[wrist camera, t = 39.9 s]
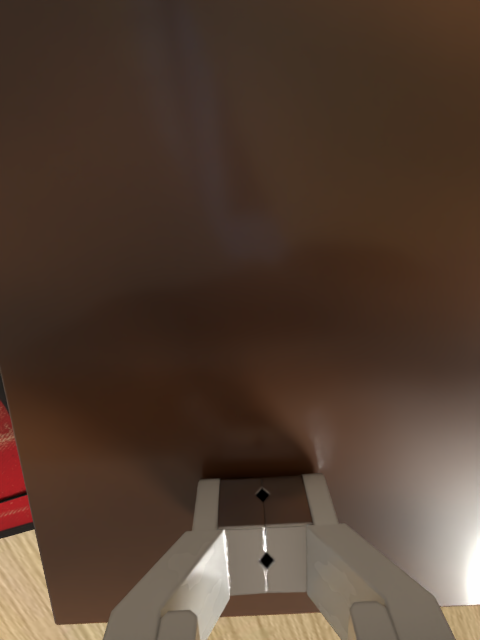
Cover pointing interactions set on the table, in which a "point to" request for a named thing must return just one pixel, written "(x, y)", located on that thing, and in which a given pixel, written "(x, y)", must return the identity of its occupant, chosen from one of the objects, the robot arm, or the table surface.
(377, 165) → the chest lid
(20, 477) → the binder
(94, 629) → the table surface
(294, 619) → the table surface
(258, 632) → the table surface
